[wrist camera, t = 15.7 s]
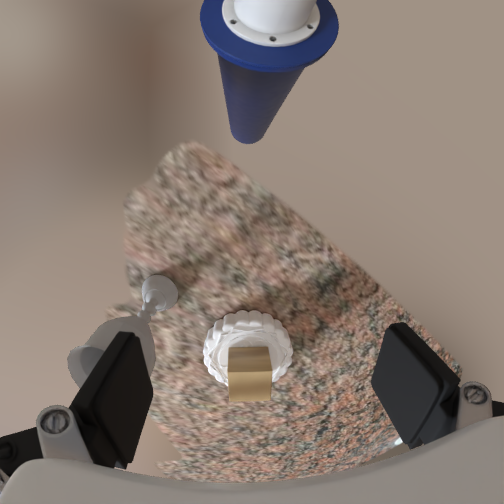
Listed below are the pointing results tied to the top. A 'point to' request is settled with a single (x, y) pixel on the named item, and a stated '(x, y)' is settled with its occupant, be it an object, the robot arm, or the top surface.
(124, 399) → the robot arm
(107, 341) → the chalice
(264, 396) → the block
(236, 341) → the mooncake
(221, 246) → the top surface
